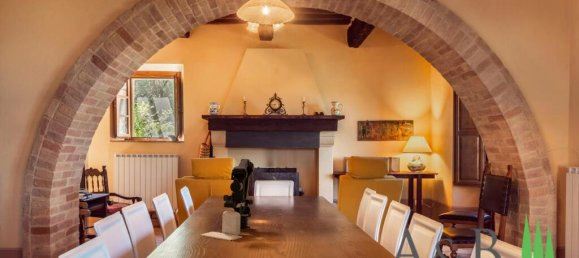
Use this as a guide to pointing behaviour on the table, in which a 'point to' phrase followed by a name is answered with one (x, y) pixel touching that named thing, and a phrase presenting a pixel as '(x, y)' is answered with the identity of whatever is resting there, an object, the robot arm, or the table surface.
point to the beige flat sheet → (221, 236)
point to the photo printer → (231, 223)
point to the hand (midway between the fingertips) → (238, 219)
